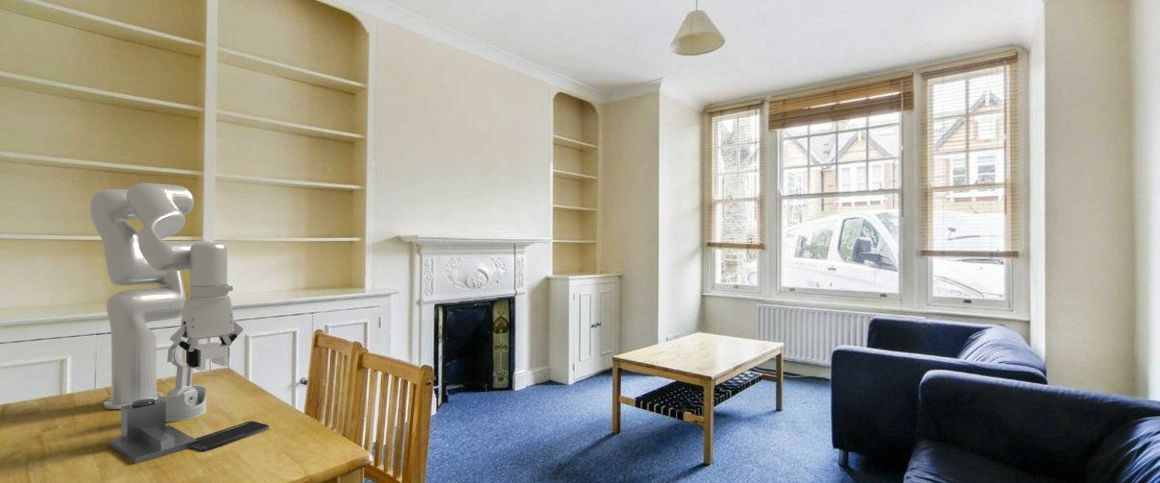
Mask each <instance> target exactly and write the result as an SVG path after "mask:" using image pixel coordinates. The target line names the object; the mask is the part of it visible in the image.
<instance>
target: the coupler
mask: <svg viewBox="0 0 1160 483" xmlns="http://www.w3.org/2000/svg"><path fill="white" fill-rule="evenodd" d="M197 443H198V440H196V438H194V437H193V436H191V435H188V434H186V433H185V432H183V431H181V430H179V429H177V428H175V427H173V426H172V425H167V422H166V402H165V401H163V400H161V399H143V400H139V401H135V402H133V403H132V405H127V406H122V407H121V409H120V437H116V438H113V439H109V444H108V446H109V447H111V448H113V449H114V450H115V451H117V452H118V453H120V454H121V455H123V457H125V458H126V459H128V460H129V461H131V462H132V463H133V464H135V465H137V464H139V463H143V462H146V461H149V460H154V459H157V458H160V457H164V456H167V455H171V454H173V453H177V452H182V451H184V450H188V449H192V448H191V444H197ZM163 455H164V456H163ZM159 456H160V457H159ZM153 458H154V459H153Z"/></svg>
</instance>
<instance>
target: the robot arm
mask: <svg viewBox="0 0 1160 483" xmlns="http://www.w3.org/2000/svg"><path fill="white" fill-rule="evenodd" d="M194 206H195V199H194V195H193V194H192V192H191V191H190V190H189V189H188V188H187V187H186V186H185V187H184V186H182V185H176V184H165V183H156V182H155V183H152V182H142V183H137V184H134V185H132V186H131V187H130V188H128V189H123V188H122V189H121V188H113V189H112V188H111V189H109V188H108V189H103V190H99V191H96V193H94V194H93V195H92V196H91V199H90V203H89V212H90V218H91V220H92V223H93V225H94V227H95V229H96V230H97V233H98V235H99V236H100V238H101V242H102V245H103V251H104V252H103V253H104V258H105V259H104V260H105V264H106V270H107V274H108V278H109V281H110V282H111V283H112V284H113V285H115V286H118V287H119V286H120V287H134V286H135V287H136V286H137V287H138V286H149V285H150V286H153V285H156V287H155V288H154V287H152V288H137V289H127V290H122V291H118V292H115V293H113V294H112V295H110V297H109V298H108V299H107V301H106V313H107V317H108V320H109V327H110V333H111V334H110V337H111V345H110V346H111V348H110V350H111V397H110V398H108V399H107V400H105V401H104V402H103V407H104V408H105V409H109V410H121V407H122V406H127V405H132V403H133V402H135V401H139V400H143V399H158V394H160V395H161V396H164V392H161V391H157V335H155V333H154V331H152V330H151V328H149V327H148V326H147V324H148V323H151V322H159V321H166V320H167V321H168V320H174V319H177V318H180V317H181V321H180V323H181V324H180V328H179V329H178V330H176V332H174V333H173V334H172V335H171V336H170V337H169V340H170V341H172V342H173V343H174V342H175V343H176V344H178V345H179V346H180V348H182V349H183V350H184V351H186V352H185V354H186V355H185V362H186V363H187V364H188V366H189V367H192V368H193V369H194V368H195V367H197V351H195V347H196V345H197V343H198V340H199V339H200V340H203V339H210V338H211V339H212V338H217V337H218V338H219V341H220V344H224V345H227V346H229V347H230V346H231V345H232V343H233V342H234V341H235V340H236V339H237V338H238V336H239V335H241V333H243V331H244V328H243V326H241V325H240V324H238V322H236V321H234V312H233V311H234V310H233V305H232V301H231V300H232V299H231V297H230V296H229V295H228V294H229V292H232V291H233V289H234V287H233V285H229V284H228V248H227V245H226V244H224V243H222V242H210V241H205V240H167V241H166V240H163V239H166V238H170V237H172V236H173V235H176V234H177V233H179V232H180V231H181V230H183V228H184V226H185V224H186V217H185V216H186V215H188V214H190V213H191V211H193V209H194ZM126 220H129V221H130V220H132V221H133V220H135V221H140V222H142V224H143V227H142V228H141V230H140V232H138V230H137V229H136V228H134V226H132V224H129V223H128V222H127V221H126ZM184 271H189V298H187V297H186V296H187V295H186V292H185V287H184V280H183V276H182V272H184ZM181 337H184V338H188V340H187V341H186V342H184V341H183V340H182V339H181ZM228 358H230V354H229V355H228Z"/></svg>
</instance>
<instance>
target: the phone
mask: <svg viewBox="0 0 1160 483" xmlns="http://www.w3.org/2000/svg"><path fill="white" fill-rule="evenodd" d="M269 429H270V426H269V424H266V423H261V422H259V421H253V420H249V421H245V422H242V423H240V424H235V425H234V426H230V427H227V428H224V429H221V430H218V431H215V432H214V431H213V432H211V433H208V434H205V435H202V436H199V437H195V439H196V440H198V443H197V444H191V448H190V449H192V450H193V449H194V450H196V451H199V452H208V451H212V450H215V449H218V448H221V447H223V446H226V445H229V444H232V443H235V442H238V441H240V440H243V439H247V438H249V437H252V436H255V435H258V434H260V433H264V432H265V431H269Z"/></svg>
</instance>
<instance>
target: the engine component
mask: <svg viewBox="0 0 1160 483" xmlns="http://www.w3.org/2000/svg"><path fill="white" fill-rule="evenodd" d="M181 339H182V340H183V341H184V342H187V340H188V338H184V337H182V336H181ZM200 344H203V342H202V340H201V339H199V340H198V343H197V345H200ZM180 349H181V347H180V346H179V345H178V344H176V343H175V342H173V343H172V345H171V346H170V348H168V351H167V359H166V362H167V363H171V364H172V365H174V367H176V374H175V388H173V389H172V390H170V391H168V392H167V395H163V396H161V395H160V394H158V399H161V400H163V401H165V402H166V423H171V422H182V421H188V420H189V419H190V420H191V419H194V418H197V417H200V416H202V415H204V414H206V412H207V387H206V385H204V384H203V385H202V384H192V383H193V371H194V368H191V367H189V366H188V364H187V363H186V361H185V362H183V361H182V360H181V358H180V355H179V352H180Z"/></svg>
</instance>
